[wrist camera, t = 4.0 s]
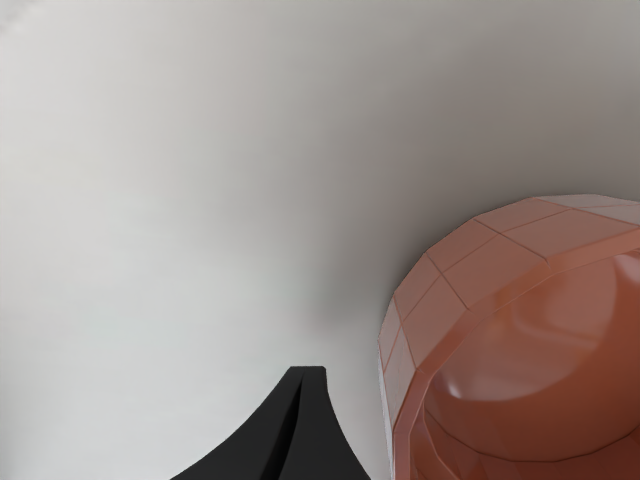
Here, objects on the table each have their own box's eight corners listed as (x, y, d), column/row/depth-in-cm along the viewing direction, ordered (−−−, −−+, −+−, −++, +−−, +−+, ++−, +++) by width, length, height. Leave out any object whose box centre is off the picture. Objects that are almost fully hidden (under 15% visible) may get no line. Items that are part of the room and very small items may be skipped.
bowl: (676, 477, 15) (851, 651, 10) (380, 471, 17) (395, 623, 11) (747, 182, 12) (1060, 207, 7) (372, 202, 13) (387, 237, 8)
